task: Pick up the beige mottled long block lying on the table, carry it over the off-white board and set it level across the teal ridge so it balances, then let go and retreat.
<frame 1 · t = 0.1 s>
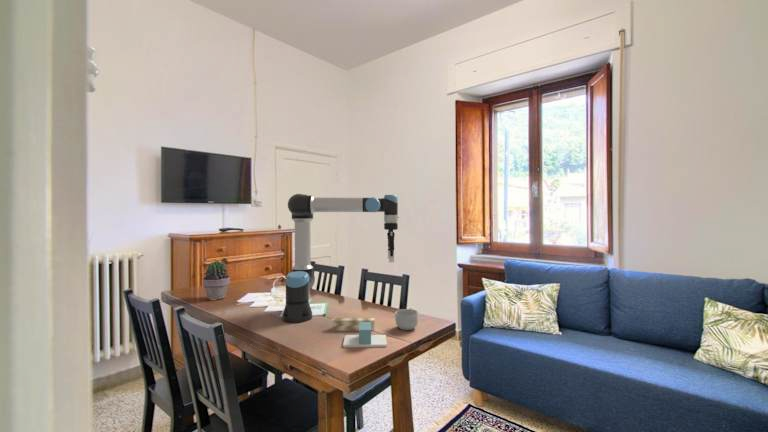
hand: (390, 260, 194), 28 cm above the table, fingers open, 13 cm apart
beige mottled long block: (353, 329, 164), on the table
teacup: (407, 327, 167), on the table
potted plant: (215, 299, 219), on the table
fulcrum: (365, 342, 148), on the table
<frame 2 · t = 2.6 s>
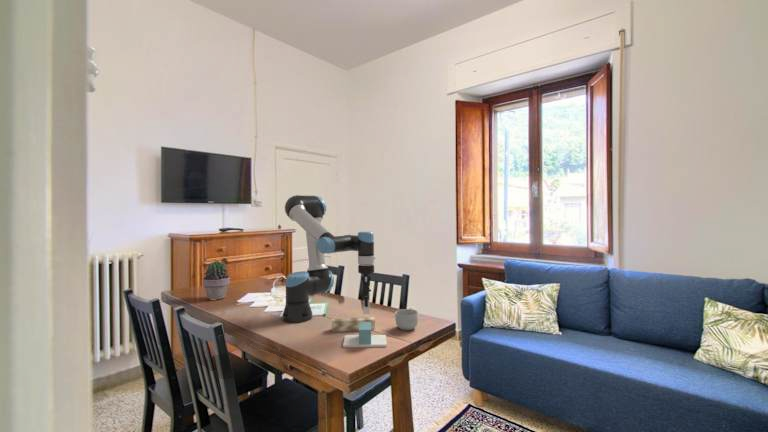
hand: (366, 309, 164), 9 cm above the table, fingers open, 13 cm apart
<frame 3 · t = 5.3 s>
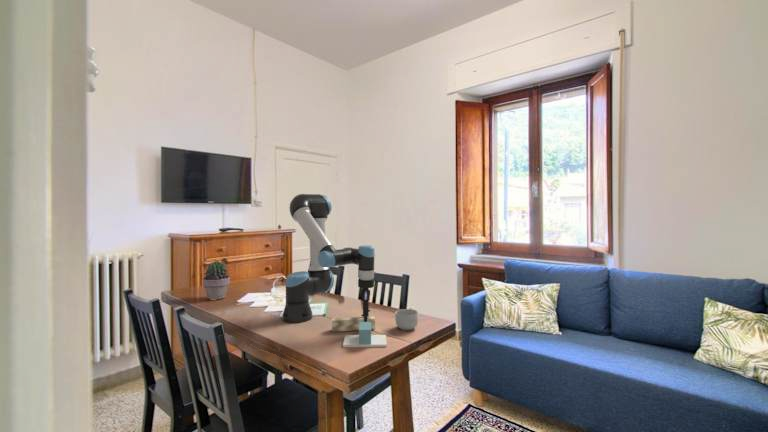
hand: (365, 327, 164), 1 cm above the table, fingers open, 4 cm apart
beige mottled long block: (353, 329, 163), on the table, touching gripper
everything else where it was.
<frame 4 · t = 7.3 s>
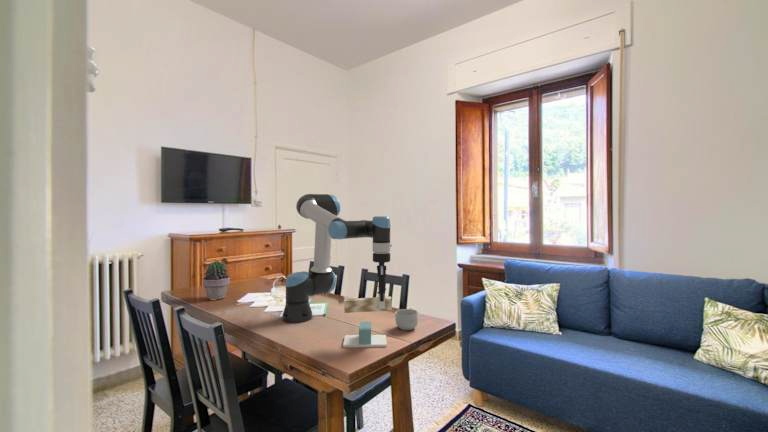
hand: (381, 307, 148), 15 cm above the table, fingers closed on beige mottled long block, 3 cm apart
beige mottled long block: (368, 310, 148), point 13 cm above the table, touching gripper
everything else where it was.
when the fingers open (9 cm above the table, at t = 9.0 s): beige mottled long block stays where it is, resting on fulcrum.
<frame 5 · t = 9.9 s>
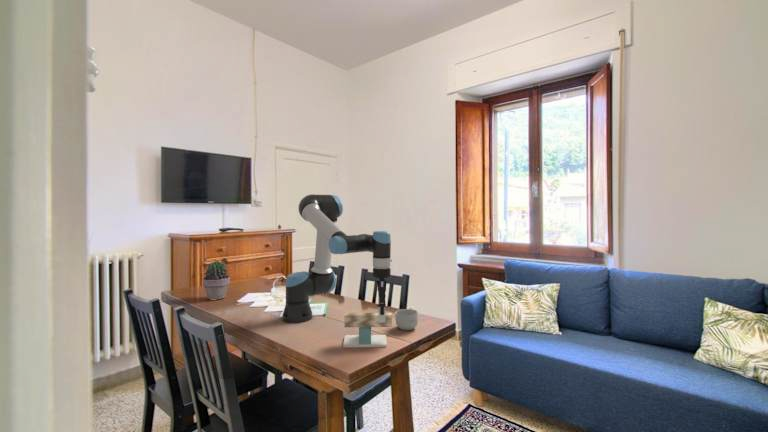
hand: (381, 317, 148), 11 cm above the table, fingers open, 13 cm apart
beige mottled long block: (368, 325, 148), point 7 cm above the table, touching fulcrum
everything else where it was.
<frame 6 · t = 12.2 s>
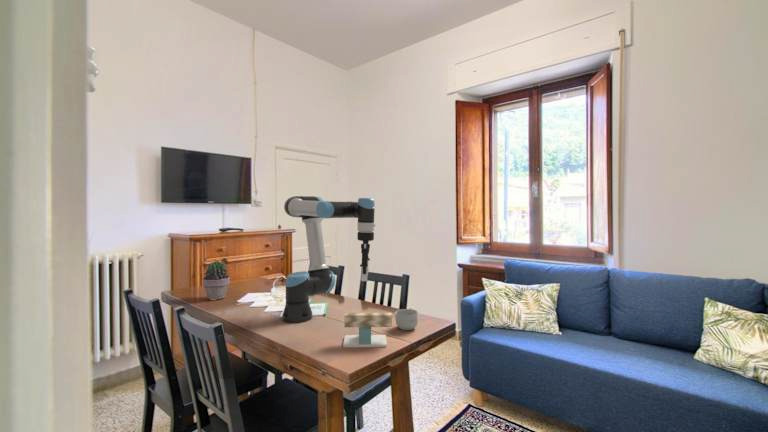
hand: (364, 277, 160), 25 cm above the table, fingers open, 13 cm apart
nothing on the table moved.
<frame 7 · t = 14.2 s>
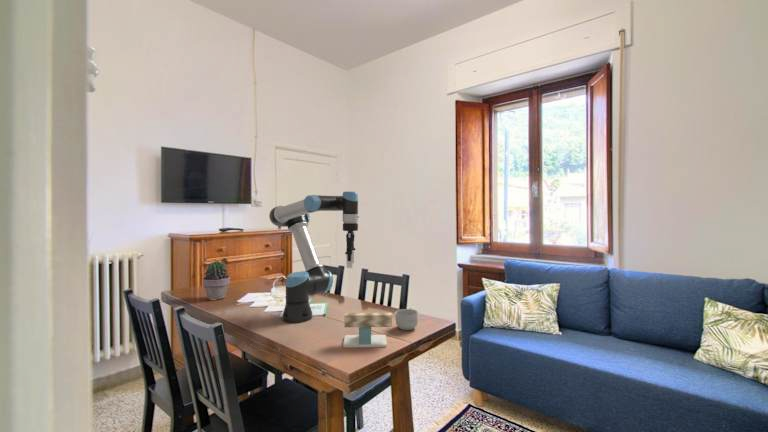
hand: (350, 265, 173), 29 cm above the table, fingers open, 13 cm apart
nothing on the table moved.
at the end: beige mottled long block inside the target area on the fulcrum (1.3 cm from its centre), point 7.0 cm above the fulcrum's base; beige mottled long block tilted 0°; beige mottled long block touching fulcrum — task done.
